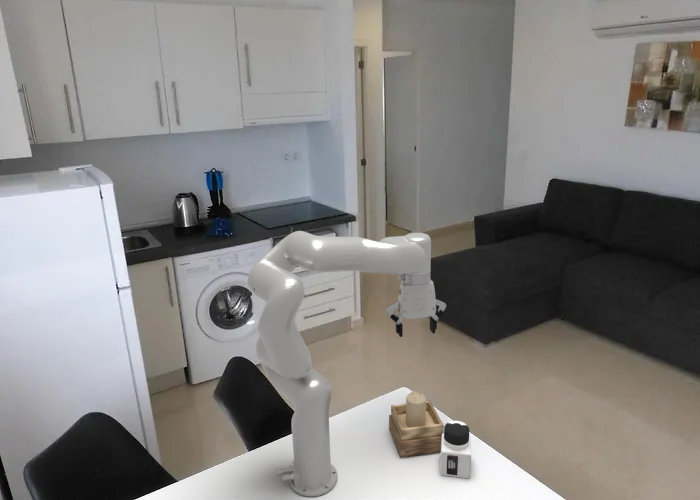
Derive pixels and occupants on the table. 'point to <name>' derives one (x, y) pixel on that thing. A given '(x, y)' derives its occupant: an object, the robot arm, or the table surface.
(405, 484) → the table surface
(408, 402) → the candle
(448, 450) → the container
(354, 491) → the table surface
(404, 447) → the base crate
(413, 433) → the top crate
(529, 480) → the table surface
